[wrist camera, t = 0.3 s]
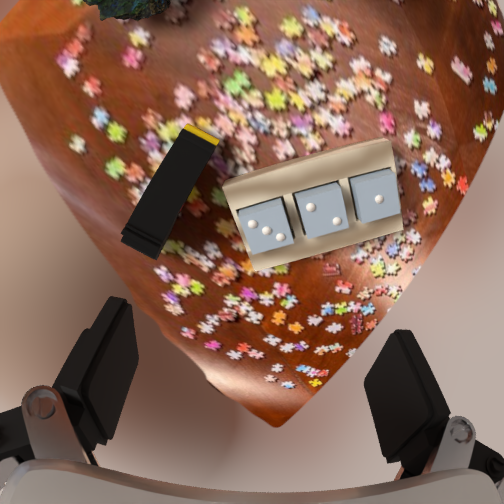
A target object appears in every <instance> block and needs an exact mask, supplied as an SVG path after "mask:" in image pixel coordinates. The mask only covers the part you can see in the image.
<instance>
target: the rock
mask: <svg viewBox="0 0 504 504" xmlns="http://www.w3.org/2000/svg"><path fill="white" fill-rule="evenodd" d="M83 1H84V2H86V4H88V5H89V6H91V5H98V9H99V10H100V20H101V21H103V20H105V19H106V18H110V17H114V18H116V19H123V20H126V19H129V18H131V19H134V20H137V21H139V20H141V19H142V18H148V17H150V16H151V15H155V14H159V13H162V12H163V11H164V10H166V9H167V8H169V4H170V0H83Z"/></svg>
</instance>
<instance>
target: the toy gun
mask: <svg viewBox="0 0 504 504" xmlns="http://www.w3.org/2000/svg"><path fill="white" fill-rule="evenodd" d="M219 141H220V140H219V139H217V138H215V137H213V136H211V135H209V134H208V133H206V132H204V131H202V130H200V129H198V128H196V127H194V126H192V125H190V124H186V126H185V127H184V128H183V129H182V130H181V132H180V133H179V136H178V137H177V139H176V141H175V142H174V144H173V145H172V147H171V148H170V150H169V152H168V153H167V155H166V156H165V158H164V160H163V161H162V163H161V164H160V166H159V168H158V169H157V171H156V173H155V174H154V176H153V178H152V180H151V181H150V183H149V185H148V186H147V188H146V190H145V192H144V193H143V195H142V197H141V199H140V201H139V202H138V204H137V206H136V208H135V210H134V211H133V213H132V215H131V217H130V219H129V221H128V223H127V224H126V225H125V228H124V229H123V230H122V232H121V234H122V235H123V237H122V239H121V242H122V243H124V244H126V245H128V246H130V247H132V248H133V249H135V250H137V251H139V252H141V253H143V254H145V255H147V256H149V257H150V258H152V259H155V260H157V258H158V256H159V254H160V252H161V250H162V248H163V246H164V244H165V242H166V240H167V239H168V237H169V235H170V233H171V230H172V228H173V226H174V223H175V221H176V219H177V217H178V215H179V213H180V211H181V209H182V208H183V206H184V204H185V202H186V200H187V198H188V197H189V195H190V193H191V191H192V189H193V187H194V185H195V183H196V181H197V179H198V178H199V176H200V174H201V172H202V171H203V169H204V167H205V165H206V164H207V162H208V160H209V159H210V157H211V155H212V153H213V151H214V149H215V148H216V146H217V144H218V143H219Z"/></svg>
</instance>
